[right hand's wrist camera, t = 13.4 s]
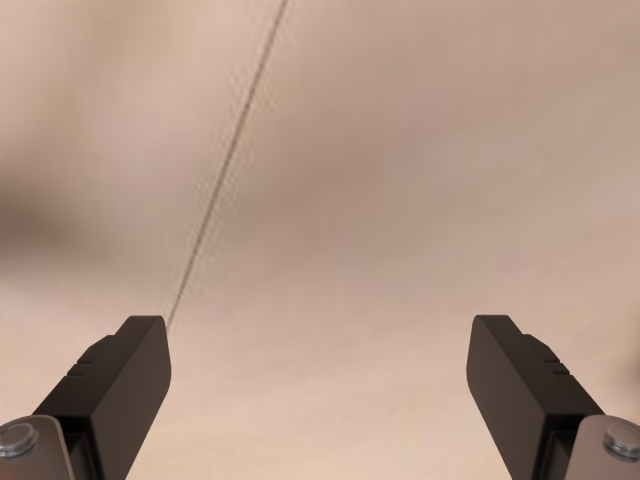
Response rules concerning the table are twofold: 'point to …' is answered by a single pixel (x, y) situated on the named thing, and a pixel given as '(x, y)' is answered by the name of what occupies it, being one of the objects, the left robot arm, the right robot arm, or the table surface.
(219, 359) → the table surface
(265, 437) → the table surface
